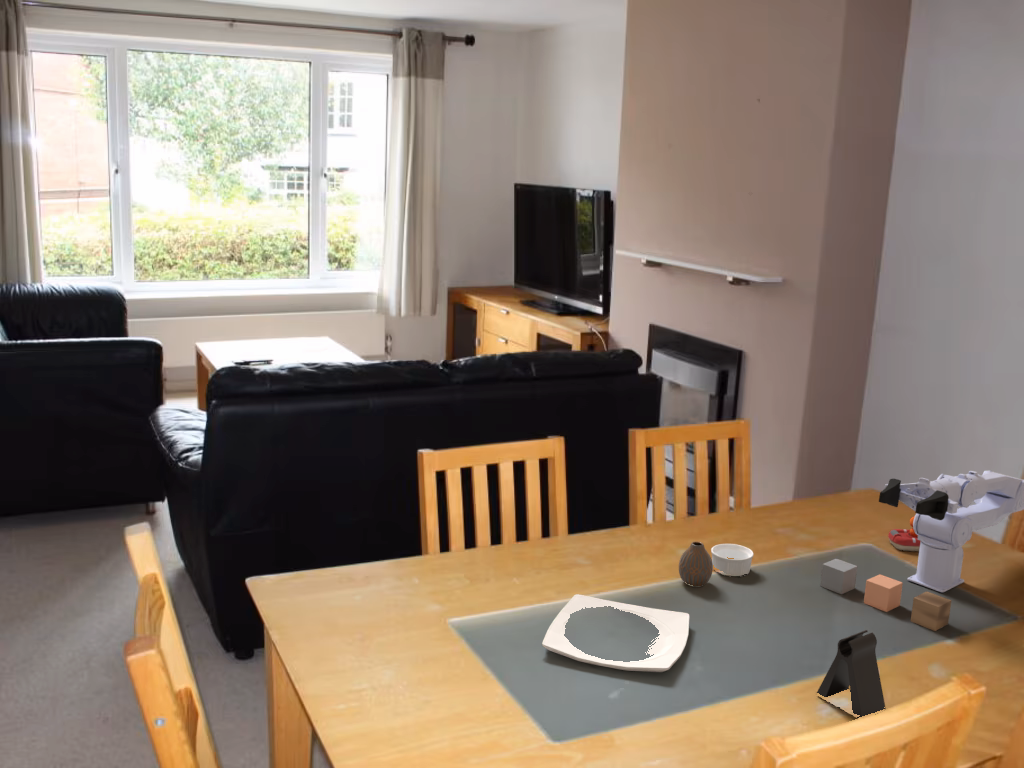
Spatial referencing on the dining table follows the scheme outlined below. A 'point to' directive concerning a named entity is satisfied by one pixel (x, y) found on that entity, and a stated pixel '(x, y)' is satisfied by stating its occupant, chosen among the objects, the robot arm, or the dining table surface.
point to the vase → (695, 565)
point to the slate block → (838, 576)
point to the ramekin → (732, 566)
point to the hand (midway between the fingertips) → (899, 502)
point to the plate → (667, 622)
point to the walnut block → (931, 611)
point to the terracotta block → (883, 593)
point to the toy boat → (905, 538)
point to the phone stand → (856, 674)
